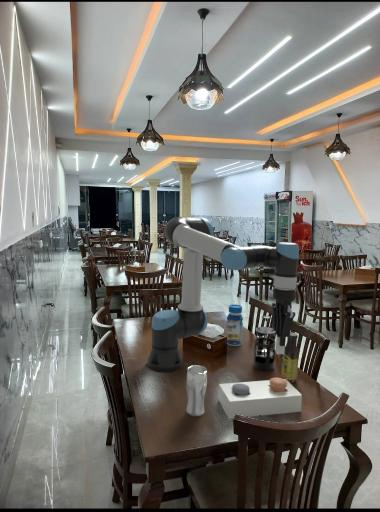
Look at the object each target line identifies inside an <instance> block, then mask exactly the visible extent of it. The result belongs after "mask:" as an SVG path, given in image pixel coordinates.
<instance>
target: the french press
mask: <svg viewBox="0 0 380 512" xmlns="http://www.w3.org/2000/svg"><path fill="white" fill-rule="evenodd" d="M261 318H262V319H263V320H265V326H259V327H256V328H255V335H256V336H257V337H256V338H255V339H254V346H253V347H254V349H253V350H254V351H253V364H252V367H253V368H254V369H255V370H257V371H260V372H271V371H274V370H275V356H276V355H275V354H276V353H275V349H276V339H274V338H275V337H276V331H274V329H273V327H267V323H268V320H271V319H272V317H271V315H270V316H269V315H262V316H261ZM267 335H271V336H272V337H274V338H270V337H267ZM267 341H268V342H271V343H270V344H269V343H268V344H266V342H267ZM271 348H272V351H271Z"/></svg>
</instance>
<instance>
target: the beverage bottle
mask: <svg viewBox="0 0 380 512" xmlns="http://www.w3.org/2000/svg"><path fill="white" fill-rule="evenodd" d="M242 312H243V306H242V305H240V304H237V303H236V304H235V303H233V304H229V305H228V315H227V317H226V320H227V321H226V333H225V334H226V335H225V338H226V337H227V343H226V344H227V346H232V347H239V346H241V345H242V342H243V341H242V340H243V326H244V323H243V321H244V318H243V315H242Z"/></svg>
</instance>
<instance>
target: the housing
mask: <svg viewBox="0 0 380 512" xmlns="http://www.w3.org/2000/svg"><path fill="white" fill-rule="evenodd" d="M284 380H286V379H284ZM286 381H287V380H286ZM234 384H245V385H247V386H249V388H250V392H249V393H248V394H247V395H238V396H236V395H235V393H234V392H233V391H232V386H233V385H234ZM217 399H218V401H219V404H220V406H221V407H222V408H223V410H224V412H225V414H226V416H227V418H228V419H234V418H233V417H234V415H235V414H239V415H243V416H248V417H247V418H250V417H251V418H252V417H259V415H261V416H270V415H280V414H290V413H291V414H292V413H299V412H302V400H303V395H302V393H301V392H299V391H298V390H297V388H295V387H294V386H293V384H292V383H289V382H288V381H287V387H286V388H284V392H274V391H273V390H272V386H271V385H270V379H268V380H257V381H256V380H255V381H243V382H229V383H228V382H227V383H219V384H218V398H217Z"/></svg>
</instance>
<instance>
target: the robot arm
mask: <svg viewBox="0 0 380 512" xmlns="http://www.w3.org/2000/svg"><path fill="white" fill-rule="evenodd" d="M163 232H164V233H163V234H164V237H165V239H166V240H167V241H168V242H169V243H170V244H172V245H174V246H176V247H178V248H181V250H182V251H183V266H182V286H181V301H180V303H179V304H178V305H177V310H175V309H163V310H160V311H157V312H155V313H154V314H153V316H152V321H151V348H150V351H149V354H148V357H147V361H146V366H147V367H148V368H149V369H150V370H151V371H155V372H161V373H169V372H175V371H177V370H179V369H180V368H181V367H182V364H183V361H182V360H183V359H182V356H181V353H180V349H179V340H180V339H181V340H182V339H185V338H188V337H193V336H197V335H199V334H202V333H203V332H205V330H206V328H207V326H208V323H209V321H208V320H209V317H208V315H207V312H206V311H205V310H204V306H203V305H202V303H201V295H202V277H203V262H204V256H206V257H208V258H209V259H210V258H211V259H212V260H214V261H215V260H216V261H217V262H220V263H221V264H222V266H223V268H224V269H225V270H228V271H239V270H244V269H252V268H256V269H257V268H261V267H262V268H268V269H269V268H270V269H274V275H273V289H272V290H273V291H272V298H273V299H274V300H275V302H272V303H271V307H272V320H273V321H272V325H273V327H272V328H273V329H274V331H276V333H275V337H276V339H275V341H276V344H275V354H276V355H283V354H284V351H285V346H286V338H287V337H289V336H290V332H291V331H292V327H293V322H294V318H295V317H296V312H295V311H293V310H292V302H293V301H295V300H296V294H297V293H296V292H297V283H298V282H297V281H298V268H299V258H300V247H299V244H298V243H294V242H286V241H281V242H278V243H276V246H268V245H263V244H251V245H249V246H241V245H237V244H233V243H231V242H229V241H227V240H223V239H220V238H219V237H216V236H214V227H213V225H212V223H211V222H210V221H209V220H208V219H207V218H205V217H201V216H177V217H173V218H171V219H170V220H169V221H167V223H166V224H165V226H164V231H163Z"/></svg>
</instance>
